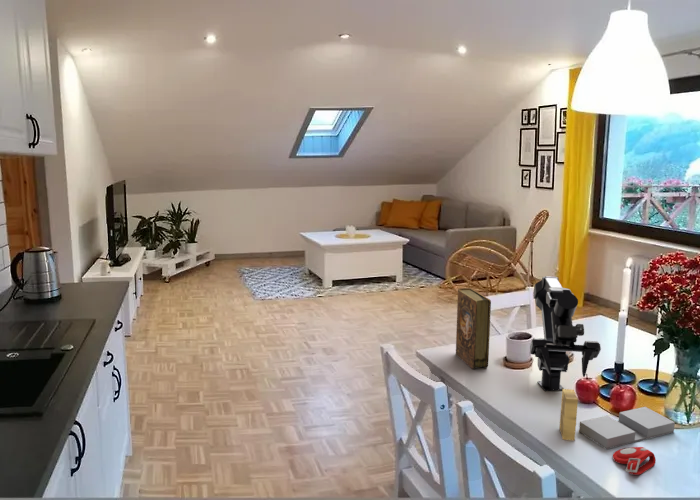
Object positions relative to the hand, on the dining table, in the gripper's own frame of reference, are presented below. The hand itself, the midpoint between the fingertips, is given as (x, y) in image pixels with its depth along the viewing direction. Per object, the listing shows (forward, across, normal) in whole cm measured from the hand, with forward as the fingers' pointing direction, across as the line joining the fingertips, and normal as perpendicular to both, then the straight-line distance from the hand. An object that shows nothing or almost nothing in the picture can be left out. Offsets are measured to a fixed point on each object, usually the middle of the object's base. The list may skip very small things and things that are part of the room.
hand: (567, 375), depth 166 cm
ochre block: (+15, 0, +5) cm, 16 cm away
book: (-21, -25, +39) cm, 50 cm away
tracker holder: (+25, +13, -3) cm, 28 cm away
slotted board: (+12, +16, +8) cm, 22 cm away
